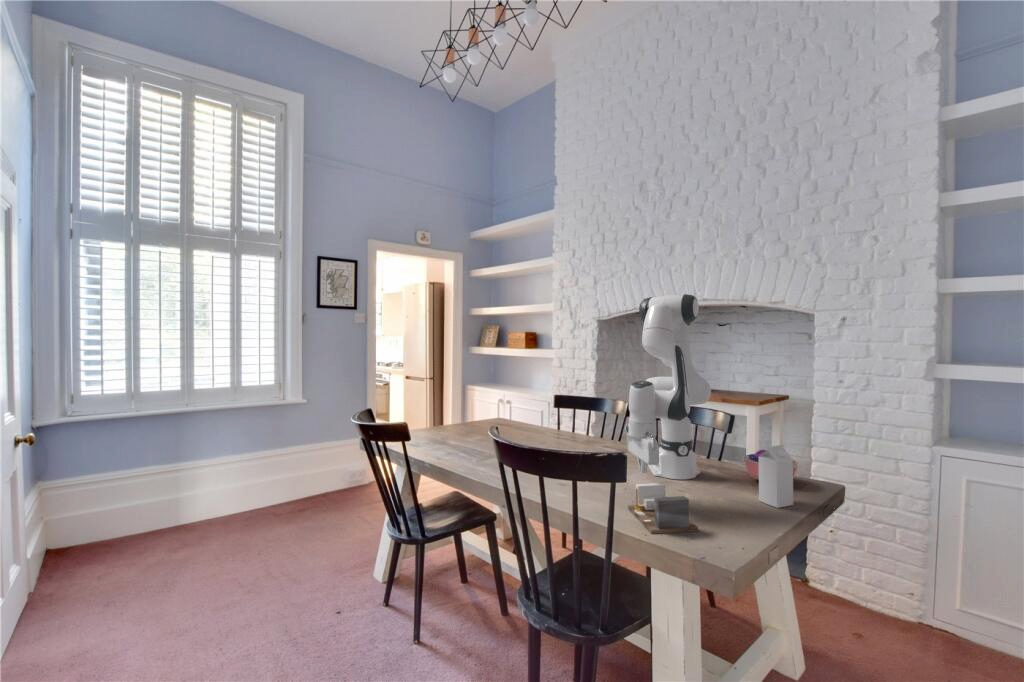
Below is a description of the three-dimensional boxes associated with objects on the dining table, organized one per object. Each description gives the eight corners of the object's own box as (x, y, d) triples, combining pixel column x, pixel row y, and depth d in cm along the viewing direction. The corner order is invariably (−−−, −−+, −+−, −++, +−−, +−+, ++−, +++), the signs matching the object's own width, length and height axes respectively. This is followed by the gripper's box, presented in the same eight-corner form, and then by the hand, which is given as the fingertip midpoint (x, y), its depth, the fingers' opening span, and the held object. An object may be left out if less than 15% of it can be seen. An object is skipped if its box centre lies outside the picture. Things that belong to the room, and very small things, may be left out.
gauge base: (627, 508, 156) (627, 480, 156) (669, 505, 158) (668, 478, 158) (651, 533, 137) (650, 502, 136) (698, 530, 138) (697, 499, 138)
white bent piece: (635, 504, 156) (635, 484, 156) (663, 503, 156) (662, 482, 156) (645, 514, 147) (645, 493, 147) (674, 513, 148) (673, 491, 148)
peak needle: (634, 509, 152) (634, 488, 151) (643, 508, 152) (643, 488, 152) (635, 509, 151) (635, 489, 151) (644, 509, 151) (643, 488, 151)
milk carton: (758, 501, 160) (758, 444, 160) (774, 498, 162) (773, 442, 162) (777, 508, 153) (776, 449, 153) (793, 505, 156) (792, 446, 155)
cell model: (773, 492, 168) (773, 460, 168) (732, 476, 187) (732, 447, 187) (811, 487, 173) (811, 456, 172) (767, 472, 192) (767, 444, 192)
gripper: (664, 436, 150) (664, 480, 150) (640, 424, 171) (641, 463, 171) (644, 436, 150) (645, 481, 150) (623, 425, 170) (624, 464, 170)
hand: (643, 471), depth 160 cm, fingers closed
